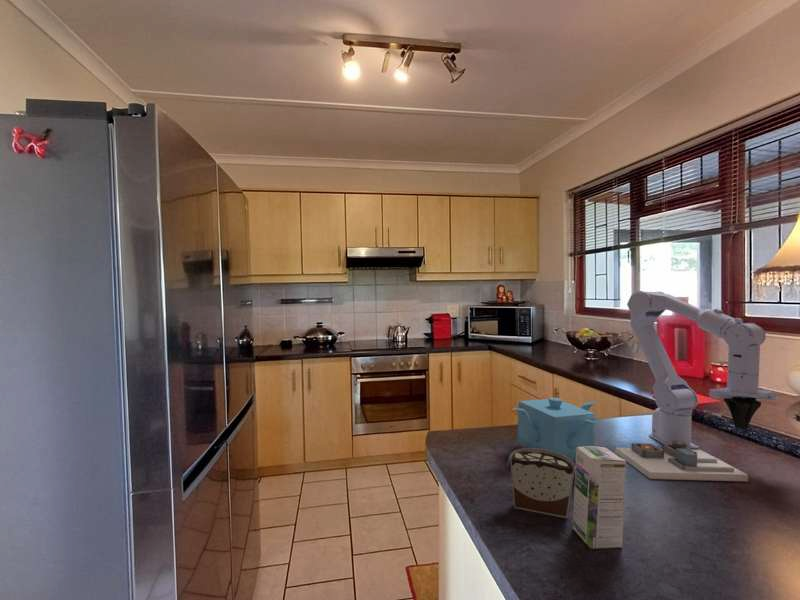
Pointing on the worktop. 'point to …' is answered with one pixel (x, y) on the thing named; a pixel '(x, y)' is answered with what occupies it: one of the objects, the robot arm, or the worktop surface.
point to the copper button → (647, 447)
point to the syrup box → (599, 497)
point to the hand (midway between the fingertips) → (740, 428)
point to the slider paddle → (686, 457)
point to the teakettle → (555, 425)
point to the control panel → (678, 464)
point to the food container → (541, 481)
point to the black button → (679, 445)
